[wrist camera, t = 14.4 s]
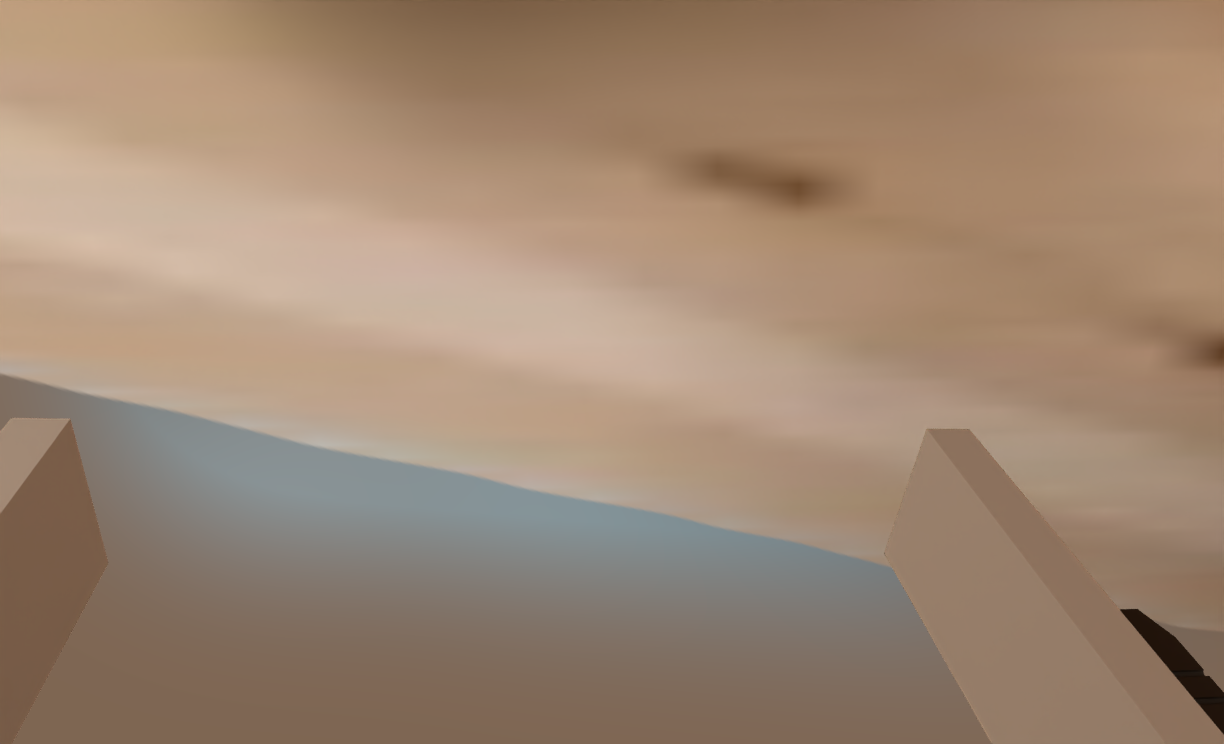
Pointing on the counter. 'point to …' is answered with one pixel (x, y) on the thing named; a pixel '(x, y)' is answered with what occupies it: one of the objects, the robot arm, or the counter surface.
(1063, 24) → the counter surface
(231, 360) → the counter surface
